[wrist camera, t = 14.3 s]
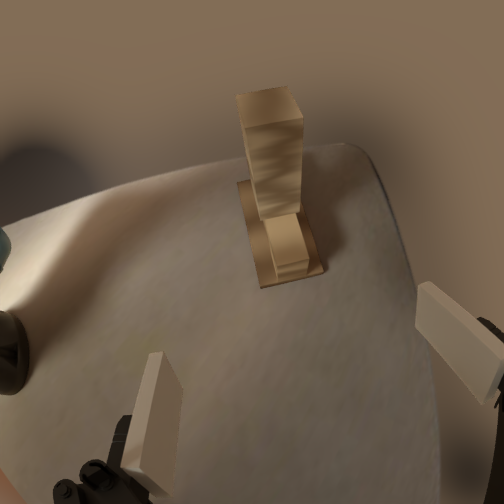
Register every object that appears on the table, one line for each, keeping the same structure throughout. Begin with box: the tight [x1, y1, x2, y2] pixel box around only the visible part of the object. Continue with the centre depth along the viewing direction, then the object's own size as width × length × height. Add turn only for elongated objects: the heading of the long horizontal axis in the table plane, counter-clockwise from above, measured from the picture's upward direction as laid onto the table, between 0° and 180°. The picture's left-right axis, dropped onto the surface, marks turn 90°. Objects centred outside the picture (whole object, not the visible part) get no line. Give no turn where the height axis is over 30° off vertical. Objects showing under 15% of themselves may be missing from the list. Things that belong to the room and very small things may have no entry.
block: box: [235, 86, 304, 221], centre depth 28 cm, size 4×4×14 cm
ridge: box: [237, 179, 324, 289], centre depth 37 cm, size 16×8×6 cm, turn 11°
